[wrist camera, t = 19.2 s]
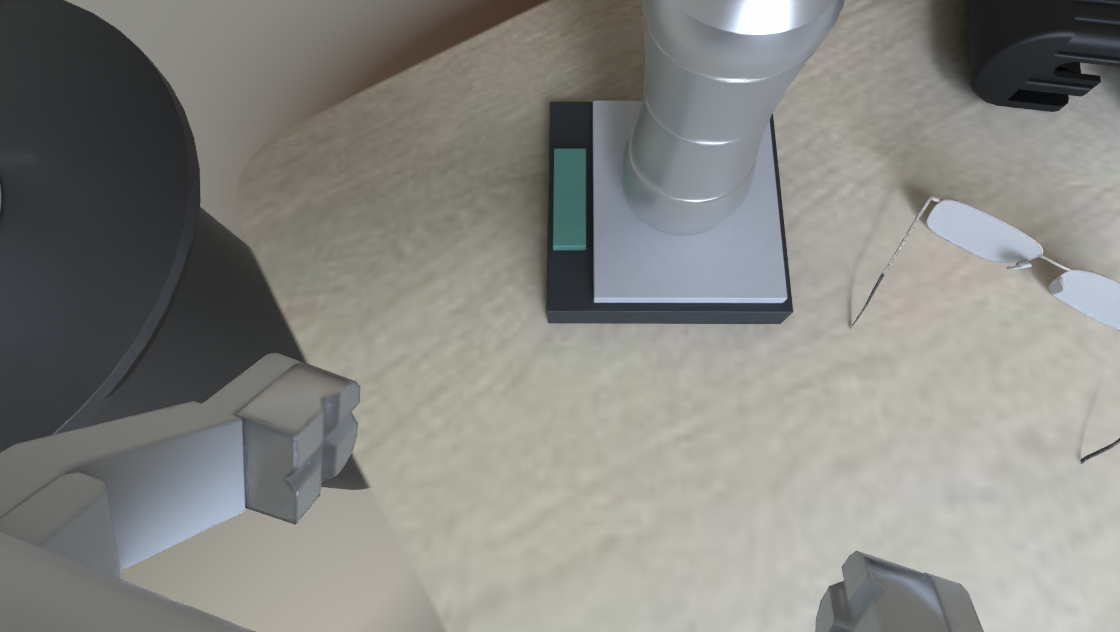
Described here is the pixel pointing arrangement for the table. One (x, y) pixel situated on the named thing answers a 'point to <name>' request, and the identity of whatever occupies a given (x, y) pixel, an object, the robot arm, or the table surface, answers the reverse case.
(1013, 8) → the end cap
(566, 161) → the scale
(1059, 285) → the eyeglasses
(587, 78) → the table surface
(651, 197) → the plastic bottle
